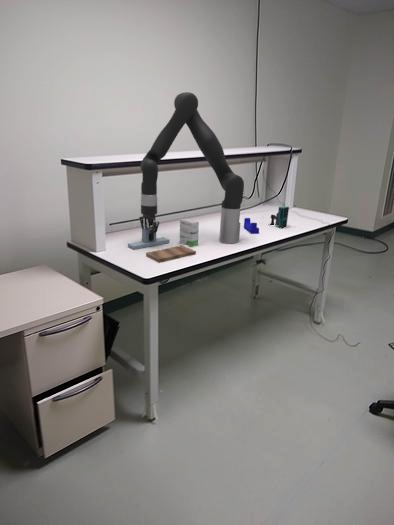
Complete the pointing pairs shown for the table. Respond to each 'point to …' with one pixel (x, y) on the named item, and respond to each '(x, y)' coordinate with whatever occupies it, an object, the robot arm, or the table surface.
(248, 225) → the blue bent block
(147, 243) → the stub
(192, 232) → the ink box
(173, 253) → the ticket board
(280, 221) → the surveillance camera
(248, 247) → the table surface
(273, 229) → the table surface
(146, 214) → the robot arm
